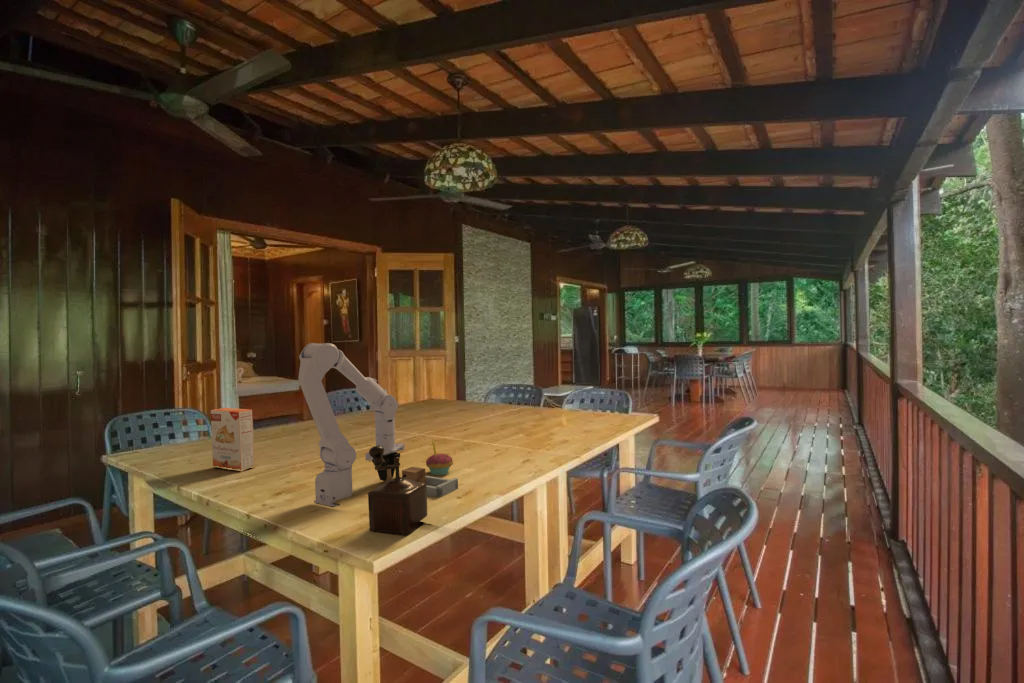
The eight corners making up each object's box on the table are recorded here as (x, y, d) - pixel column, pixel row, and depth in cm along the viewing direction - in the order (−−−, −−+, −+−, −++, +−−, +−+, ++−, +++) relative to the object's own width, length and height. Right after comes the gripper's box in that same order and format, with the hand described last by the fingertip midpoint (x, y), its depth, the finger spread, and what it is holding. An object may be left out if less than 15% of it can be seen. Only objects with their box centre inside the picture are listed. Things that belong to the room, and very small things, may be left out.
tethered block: (415, 489, 142) (415, 472, 142) (379, 483, 149) (378, 466, 149) (425, 485, 146) (425, 468, 146) (389, 479, 153) (389, 463, 153)
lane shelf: (435, 503, 134) (435, 488, 133) (386, 494, 142) (385, 480, 142) (461, 490, 144) (461, 476, 144) (413, 482, 153) (413, 469, 153)
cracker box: (211, 469, 174) (209, 409, 174) (227, 464, 180) (225, 407, 179) (240, 472, 169) (237, 411, 168) (255, 468, 174) (253, 408, 174)
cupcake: (427, 481, 154) (426, 442, 154) (425, 473, 162) (424, 437, 162) (455, 478, 156) (454, 440, 156) (451, 471, 164) (450, 435, 164)
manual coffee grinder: (430, 518, 123) (428, 446, 122) (407, 536, 112) (404, 457, 112) (376, 512, 128) (374, 443, 128) (349, 529, 117) (347, 453, 117)
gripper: (377, 440, 142) (378, 487, 142) (411, 430, 154) (412, 474, 155) (359, 437, 145) (361, 484, 146) (394, 428, 158) (395, 471, 158)
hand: (386, 478), depth 150 cm, fingers closed on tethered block, 2 cm apart
